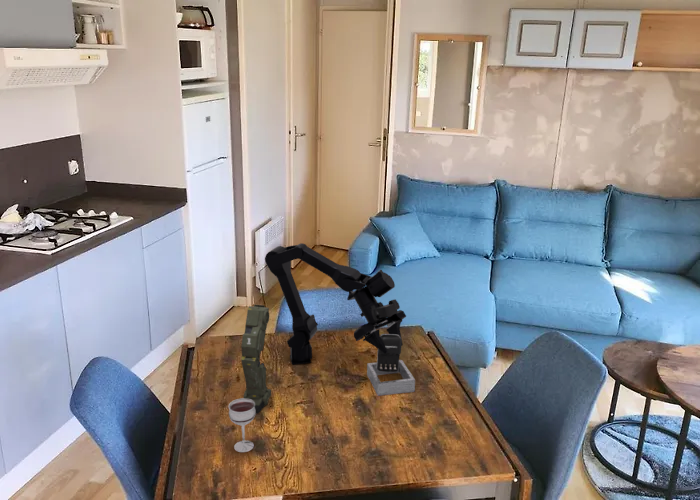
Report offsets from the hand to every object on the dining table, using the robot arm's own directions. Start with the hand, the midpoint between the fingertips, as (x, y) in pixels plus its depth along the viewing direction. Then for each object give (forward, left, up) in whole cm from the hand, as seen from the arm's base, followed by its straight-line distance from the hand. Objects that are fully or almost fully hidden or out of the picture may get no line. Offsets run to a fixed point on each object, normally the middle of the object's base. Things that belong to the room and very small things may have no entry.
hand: (394, 349), depth 179 cm
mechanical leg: (-42, -1, -12) cm, 43 cm away
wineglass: (-47, -22, -12) cm, 53 cm away
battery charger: (-2, 0, -7) cm, 8 cm away
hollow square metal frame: (-1, +1, -12) cm, 12 cm away
